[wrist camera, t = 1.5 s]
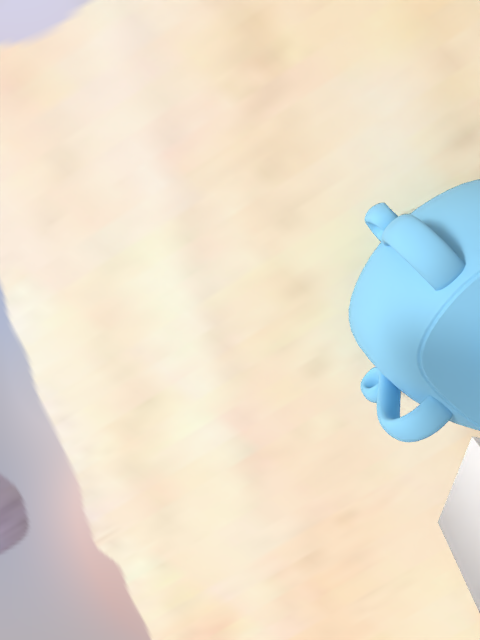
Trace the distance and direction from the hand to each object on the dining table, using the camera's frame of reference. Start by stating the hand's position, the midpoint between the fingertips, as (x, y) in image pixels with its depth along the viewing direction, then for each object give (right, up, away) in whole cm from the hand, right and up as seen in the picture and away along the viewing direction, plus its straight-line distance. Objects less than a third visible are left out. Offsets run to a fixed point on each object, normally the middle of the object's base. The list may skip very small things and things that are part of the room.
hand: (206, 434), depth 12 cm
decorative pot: (+17, +6, +24) cm, 30 cm away
